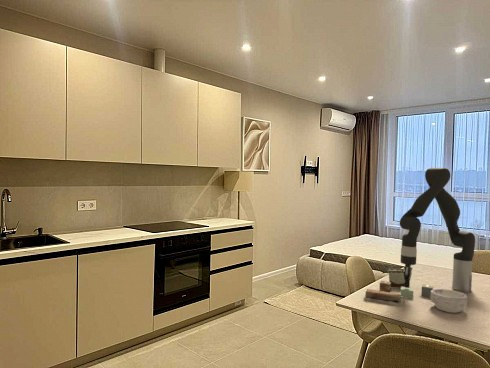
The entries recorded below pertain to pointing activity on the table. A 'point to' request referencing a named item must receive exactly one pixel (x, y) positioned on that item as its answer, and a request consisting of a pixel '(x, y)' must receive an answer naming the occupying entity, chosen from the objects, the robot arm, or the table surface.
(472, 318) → the table surface
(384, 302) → the packaged product
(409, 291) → the plain sage block
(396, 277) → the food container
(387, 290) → the walnut striped block
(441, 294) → the paper bowls
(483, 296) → the table surface
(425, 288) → the charcoal striped block
